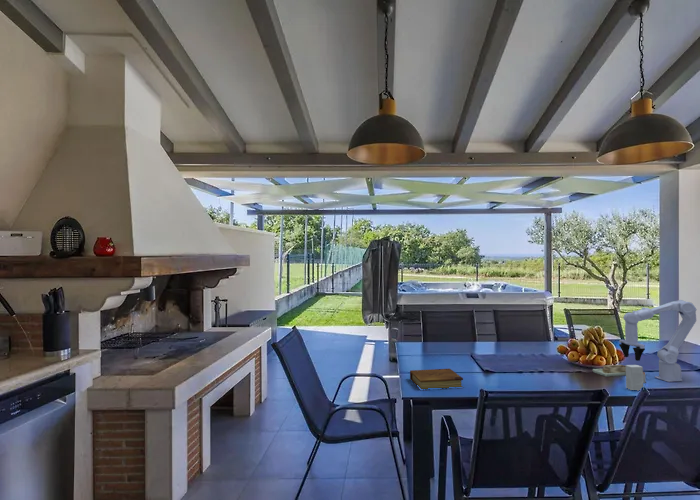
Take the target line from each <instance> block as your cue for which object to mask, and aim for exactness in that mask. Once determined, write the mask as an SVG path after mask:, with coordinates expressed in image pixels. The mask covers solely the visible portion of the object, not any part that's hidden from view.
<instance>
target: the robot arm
mask: <svg viewBox="0 0 700 500" xmlns="http://www.w3.org/2000/svg"><path fill="white" fill-rule="evenodd" d="M668 311H670V312H671V311H673V312H677V313H679V315H680V317H681V319H682V320H681V322H680V323H679V324H678V325H677V328H676V329H675V331H674V332H673V334H672V336H671V337H670V339H669V341H668V342H667V344H665V345H664V346H662V348H660V349H659V350H658V351H657V355H656V356H657V357H658V359H659V360H658V376H657V375H656V376H654V378H656V379H659V380H661V381H665V382H668V383H669V382H670V383H671V382H683V381H684V379H682V368H681V365H680V364H679V363H677V361H678V356H679V355H680V352H679V349H680V347H682V345H683V343H684V342H685V340H686V338H687V336H688V335H689V333H691V331H692V329H693V327H694V326H695V324H696V322H697V308H696V305H694V304H693V303H692V302H690V301H686V300H683V299H678V300H673V301H669V302H667V303H664V304H661V305H659V306H655V307H652V308H649V307H641V308H640V309H638V310H632V312H629V311H628V312H626V313H625V314H624V315H623V318H622V319H623V320H624V323H625V324H624V339H619V345H618V346H619V348H620V349H621V352H622V353H623V354H622V355H623V357H624V358H629V353H630V348H631V347H632V349H633V353H634V358H635V361H638V362H639V361H641V357H642V355H643V354H644V351H645V350H646V349H645V348H646V347H645V344H643V343H640V342H639V338H638V336H639V334H638V333H639V331H638V330H639V329H638V323H639V322H643V321H646V320H648V319H652V318H653V317H654V316H655V315H658V314H661V313H665V312H668Z"/></svg>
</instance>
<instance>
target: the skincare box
mask: <svg viewBox="0 0 700 500" xmlns="http://www.w3.org/2000/svg"><path fill="white" fill-rule="evenodd" d="M625 366H626V375H625V383H626V384H625V387H626V389H627V388H628V389H627V390H629V389H630V390H629V391H631V390H637V391H636V392H638V391H639V390H640V389H641V388H642V387H643V388H644V383H643V372H644V369H643V366H641V365H638V364H625ZM639 392H640V391H639Z"/></svg>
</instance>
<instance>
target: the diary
mask: <svg viewBox="0 0 700 500" xmlns="http://www.w3.org/2000/svg"><path fill="white" fill-rule="evenodd" d="M410 379H411V380H412V381H413V382H414V383H415V384H416V385H418V386H419V387H420V388H421V389H428V388H449V387H463V386H462V381H463V380H464V377H462V376H461V375H459V374H458V373H457V372H455V371H454V370H453V369H451V368H435V369H434V368H432V369H416V370H415V369H413V370H410V371H409V380H410ZM411 380H410V381H411ZM412 381H411V382H412ZM413 382H412V383H413ZM414 383H413V384H414ZM415 384H414V385H415ZM416 385H415V386H416Z"/></svg>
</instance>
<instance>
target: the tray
mask: <svg viewBox="0 0 700 500" xmlns="http://www.w3.org/2000/svg"><path fill="white" fill-rule="evenodd" d="M602 369H603V368H592V372H593V373H595V374H597V375H600V376H602V377H605V378H607V377H609V378H610V377H622V376H624V377H626V372H623V373H603V371H602Z"/></svg>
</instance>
